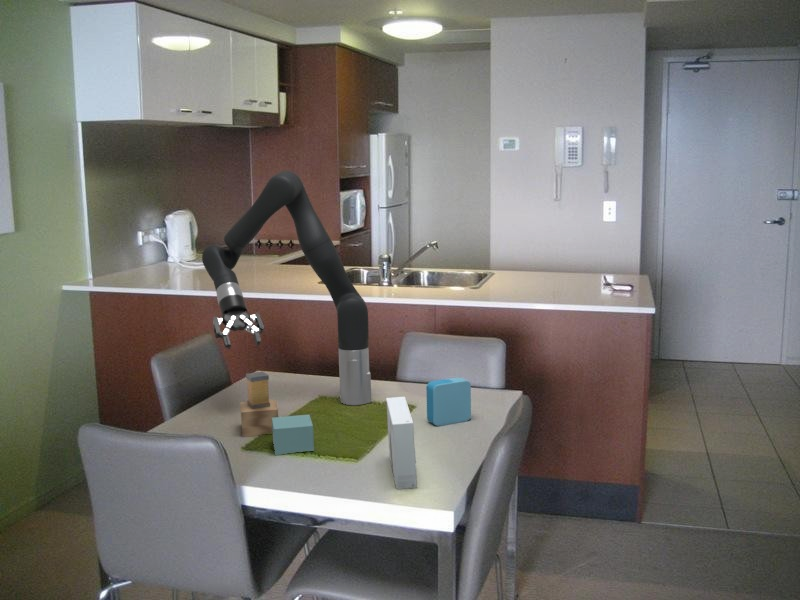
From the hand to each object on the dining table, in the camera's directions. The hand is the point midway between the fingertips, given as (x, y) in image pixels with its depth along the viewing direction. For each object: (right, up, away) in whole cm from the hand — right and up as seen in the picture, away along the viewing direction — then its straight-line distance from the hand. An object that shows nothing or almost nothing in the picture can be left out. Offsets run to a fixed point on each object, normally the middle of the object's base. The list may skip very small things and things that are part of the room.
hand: (243, 346), depth 246 cm
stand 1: (+6, -23, -7) cm, 25 cm away
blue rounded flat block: (+59, -22, -3) cm, 63 cm away
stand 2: (+17, -25, -21) cm, 37 cm away
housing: (+6, -16, -8) cm, 19 cm away
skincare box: (+45, -28, -41) cm, 67 cm away
